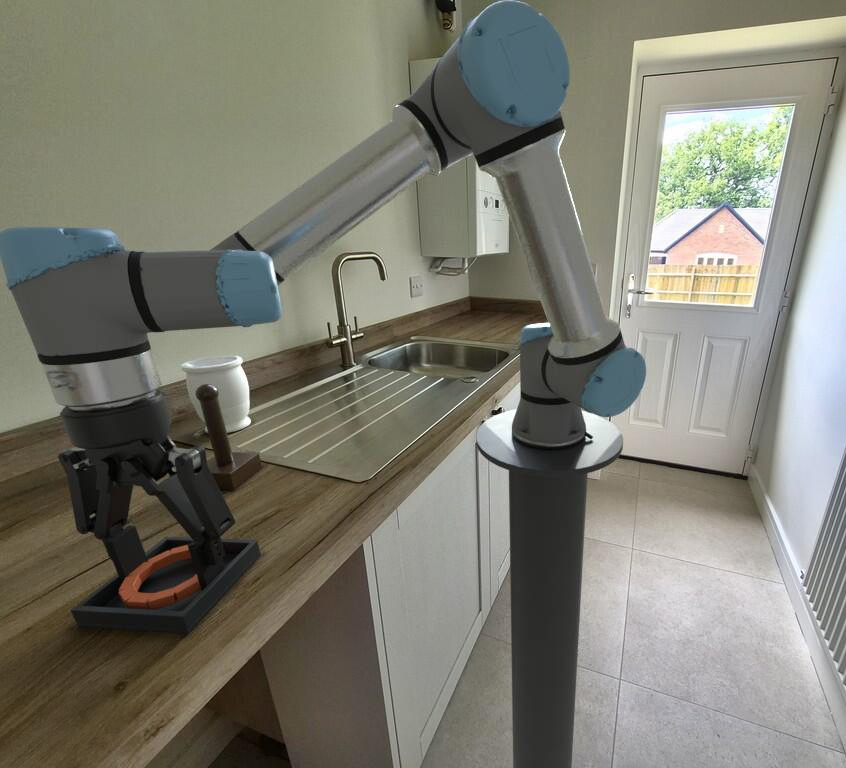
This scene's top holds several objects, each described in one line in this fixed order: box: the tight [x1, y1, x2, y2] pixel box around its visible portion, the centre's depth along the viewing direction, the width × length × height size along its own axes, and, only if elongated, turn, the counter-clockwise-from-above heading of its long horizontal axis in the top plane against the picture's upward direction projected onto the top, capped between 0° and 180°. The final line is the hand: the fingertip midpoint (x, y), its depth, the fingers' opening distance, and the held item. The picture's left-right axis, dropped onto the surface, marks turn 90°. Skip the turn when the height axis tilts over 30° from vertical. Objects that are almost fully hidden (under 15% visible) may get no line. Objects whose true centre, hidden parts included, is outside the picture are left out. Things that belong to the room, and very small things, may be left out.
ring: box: [118, 545, 201, 610], centre depth 46 cm, size 9×9×1 cm
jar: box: [180, 355, 252, 434], centre depth 87 cm, size 11×10×15 cm
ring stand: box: [195, 384, 263, 491], centre depth 67 cm, size 7×7×17 cm
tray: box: [70, 536, 261, 635], centre depth 47 cm, size 12×11×2 cm
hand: (176, 582), depth 47 cm, fingers closed on ring, 9 cm apart
